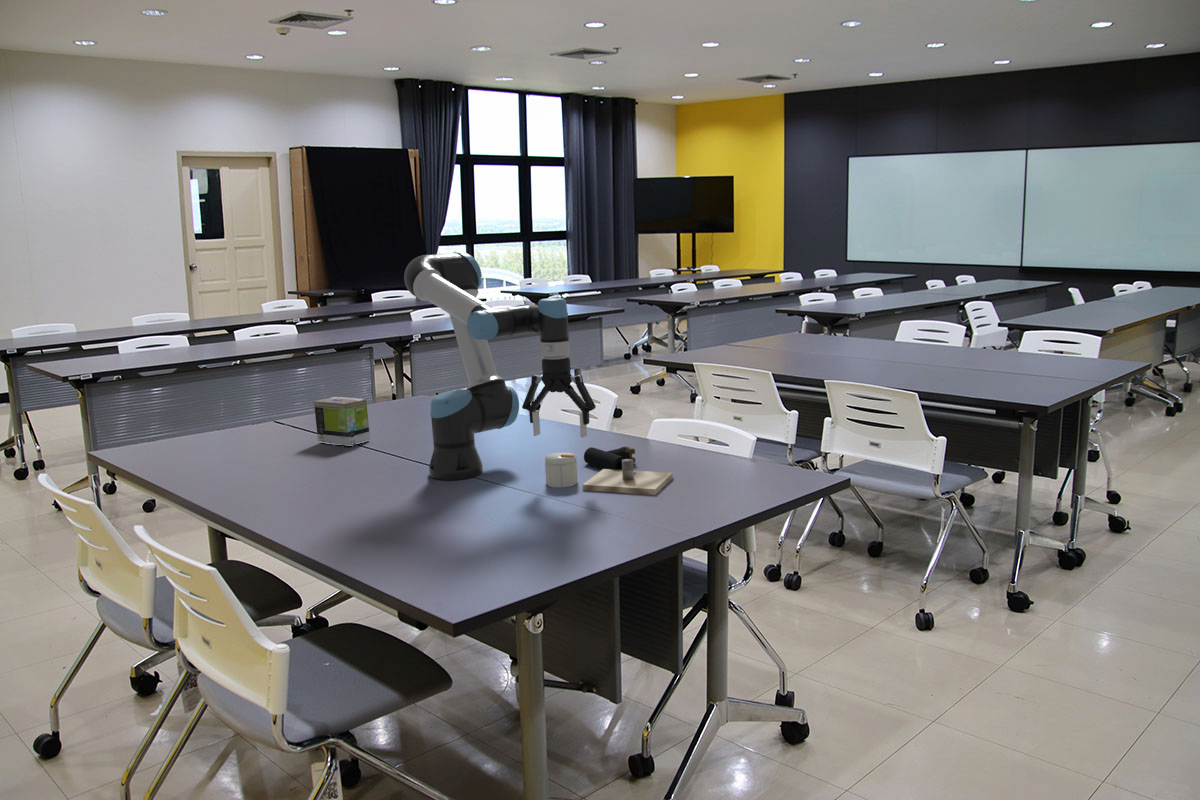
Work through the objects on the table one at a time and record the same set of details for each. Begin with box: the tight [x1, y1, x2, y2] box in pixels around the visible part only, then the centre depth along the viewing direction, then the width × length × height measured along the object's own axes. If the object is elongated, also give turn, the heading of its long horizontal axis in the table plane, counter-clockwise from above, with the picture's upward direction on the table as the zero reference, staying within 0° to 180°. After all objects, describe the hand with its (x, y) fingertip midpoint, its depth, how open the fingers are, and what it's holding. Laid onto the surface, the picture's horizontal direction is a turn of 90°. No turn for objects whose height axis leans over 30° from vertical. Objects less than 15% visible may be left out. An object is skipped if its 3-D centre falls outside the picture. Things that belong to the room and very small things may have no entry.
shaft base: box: [582, 459, 674, 496], centre depth 254 cm, size 20×16×6 cm
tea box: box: [313, 396, 371, 445], centre depth 316 cm, size 15×10×15 cm
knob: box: [544, 451, 579, 488], centre depth 258 cm, size 8×8×8 cm
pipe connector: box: [583, 446, 636, 470], centre depth 274 cm, size 12×5×15 cm
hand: (560, 435), depth 256 cm, fingers open, 13 cm apart
